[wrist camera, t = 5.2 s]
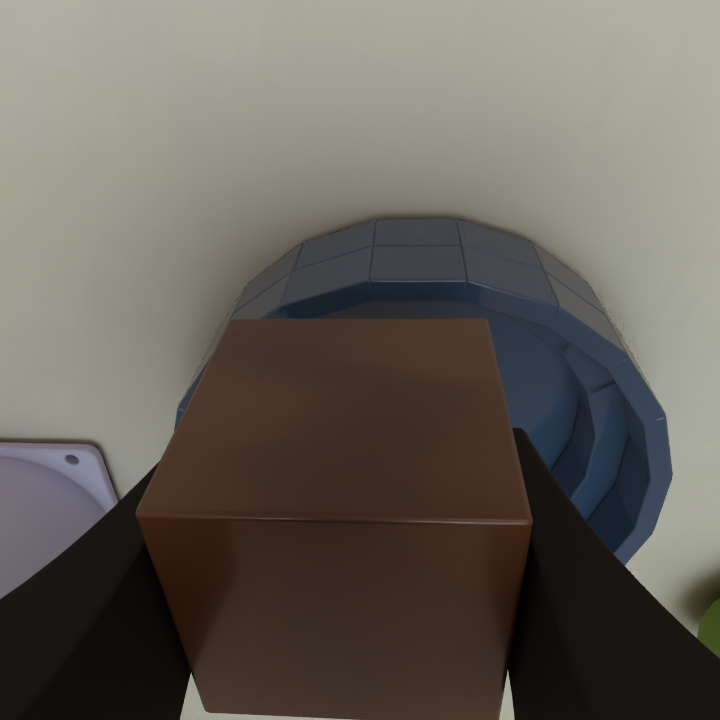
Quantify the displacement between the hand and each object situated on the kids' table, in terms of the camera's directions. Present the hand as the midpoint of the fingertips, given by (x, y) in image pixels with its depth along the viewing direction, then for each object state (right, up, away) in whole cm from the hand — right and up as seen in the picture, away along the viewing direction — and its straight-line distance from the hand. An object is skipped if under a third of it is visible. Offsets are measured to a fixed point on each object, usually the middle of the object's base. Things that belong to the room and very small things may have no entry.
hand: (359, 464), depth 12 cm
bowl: (+2, +1, +10) cm, 10 cm away
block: (0, +1, +1) cm, 1 cm away
